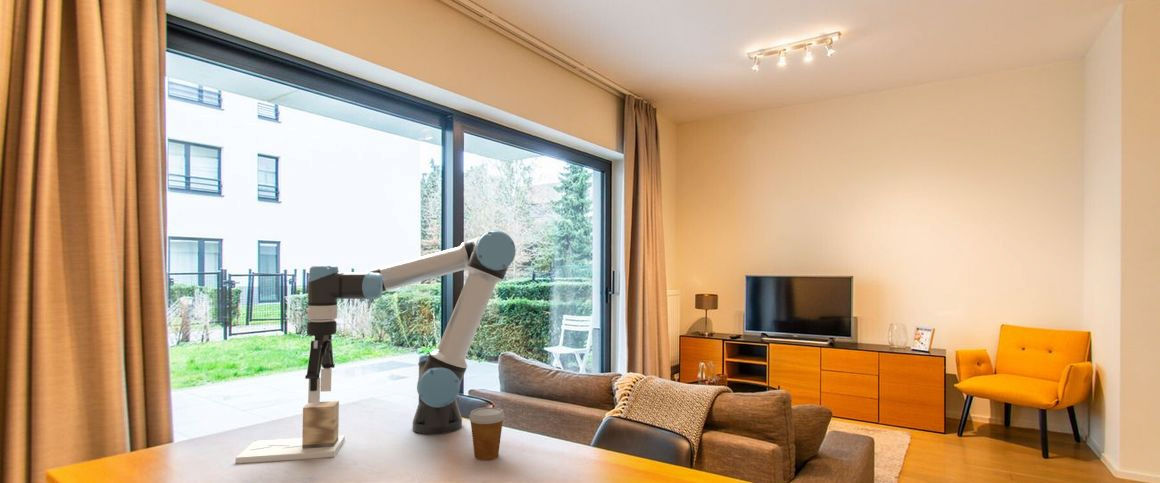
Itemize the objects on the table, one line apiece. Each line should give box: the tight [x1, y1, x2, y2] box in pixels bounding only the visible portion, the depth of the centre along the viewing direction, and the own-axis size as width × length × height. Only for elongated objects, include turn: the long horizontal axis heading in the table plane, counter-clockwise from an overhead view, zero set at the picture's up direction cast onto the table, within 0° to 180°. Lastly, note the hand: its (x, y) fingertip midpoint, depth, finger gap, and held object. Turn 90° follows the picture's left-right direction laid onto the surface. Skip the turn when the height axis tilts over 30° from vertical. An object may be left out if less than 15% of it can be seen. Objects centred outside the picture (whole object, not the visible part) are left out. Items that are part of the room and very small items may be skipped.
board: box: [235, 435, 346, 464], centre depth 157 cm, size 24×14×2 cm, turn 102°
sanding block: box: [301, 400, 340, 449], centre depth 159 cm, size 8×6×11 cm
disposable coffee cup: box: [468, 406, 505, 461], centre depth 153 cm, size 10×10×12 cm
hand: (320, 396), depth 159 cm, fingers open, 13 cm apart
